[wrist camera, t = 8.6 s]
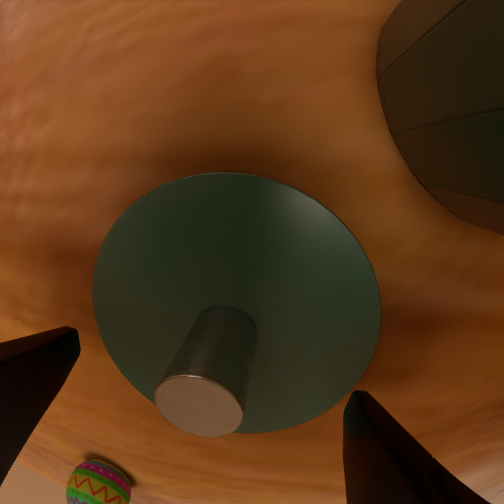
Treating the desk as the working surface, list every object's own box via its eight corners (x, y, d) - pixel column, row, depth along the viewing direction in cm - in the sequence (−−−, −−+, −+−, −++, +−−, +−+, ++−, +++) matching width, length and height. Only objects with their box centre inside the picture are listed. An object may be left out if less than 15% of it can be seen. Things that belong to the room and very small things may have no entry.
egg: (74, 445, 17) (40, 495, 11) (125, 461, 16) (94, 522, 11) (97, 477, 18) (71, 523, 13) (145, 492, 18) (122, 545, 12)
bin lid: (406, 204, 10) (487, 237, 5) (328, 430, 13) (335, 512, 8) (108, 157, 11) (13, 162, 6) (114, 384, 14) (68, 449, 9)
